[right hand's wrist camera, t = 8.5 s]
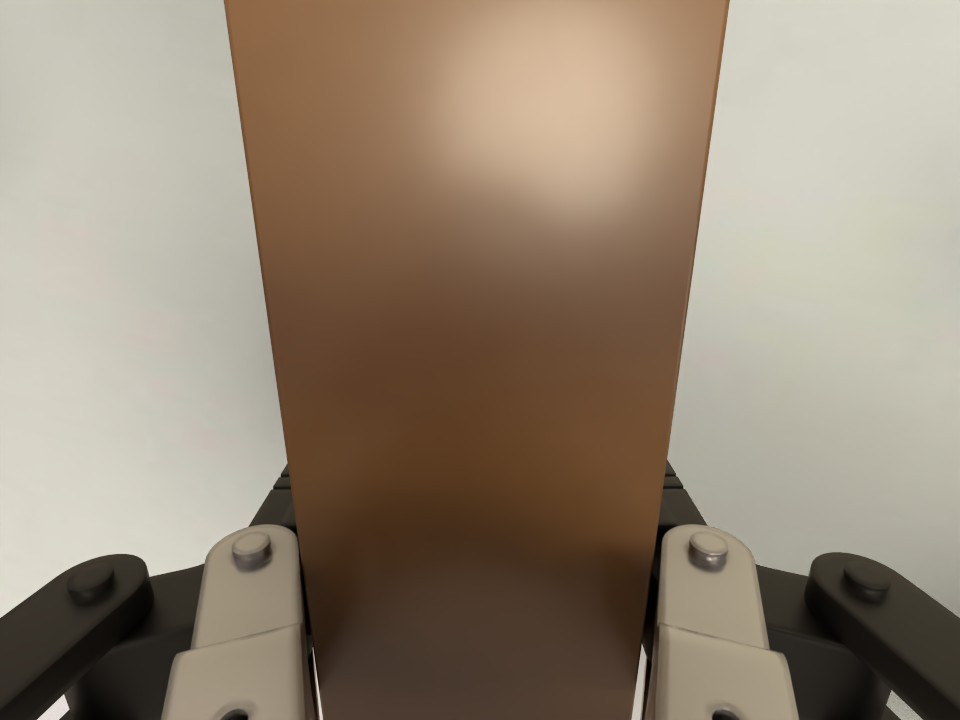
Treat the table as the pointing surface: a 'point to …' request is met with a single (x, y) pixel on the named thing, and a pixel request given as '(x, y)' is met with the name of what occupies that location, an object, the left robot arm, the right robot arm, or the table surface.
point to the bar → (476, 330)
